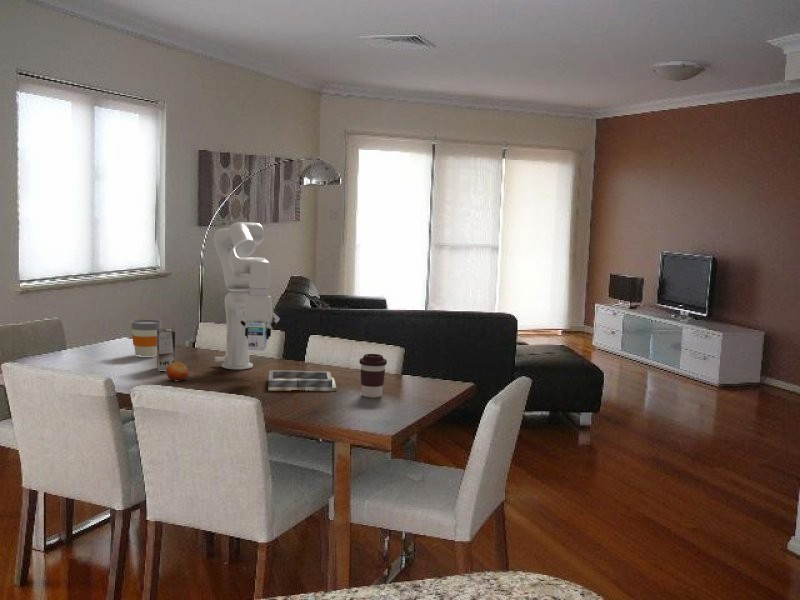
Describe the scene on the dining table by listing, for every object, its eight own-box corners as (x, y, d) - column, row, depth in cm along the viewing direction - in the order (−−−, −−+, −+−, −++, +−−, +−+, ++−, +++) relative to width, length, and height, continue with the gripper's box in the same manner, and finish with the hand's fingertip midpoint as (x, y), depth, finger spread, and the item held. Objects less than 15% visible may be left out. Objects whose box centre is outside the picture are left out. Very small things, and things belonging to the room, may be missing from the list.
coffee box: (175, 371, 322) (175, 331, 320) (158, 372, 319) (158, 331, 318) (172, 366, 330) (173, 328, 328) (156, 367, 328) (156, 328, 326)
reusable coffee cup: (126, 357, 345) (127, 323, 343) (137, 352, 357) (137, 319, 355) (155, 359, 344) (156, 324, 343) (165, 354, 357) (165, 320, 355)
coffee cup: (361, 399, 289) (363, 358, 287) (355, 392, 298) (356, 352, 297) (388, 398, 292) (390, 357, 290) (381, 392, 301) (382, 352, 299)
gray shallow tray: (268, 390, 296) (268, 380, 296) (269, 379, 314) (269, 370, 314) (336, 390, 300) (336, 381, 300) (333, 380, 318) (333, 371, 317)
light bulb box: (264, 351, 305) (265, 323, 303) (246, 350, 304) (247, 322, 303) (268, 345, 315) (268, 318, 314) (250, 344, 315) (251, 317, 313)
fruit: (174, 372, 312) (181, 356, 310) (186, 385, 310) (194, 369, 307) (157, 376, 306) (165, 359, 303) (170, 389, 303) (178, 373, 300)
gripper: (235, 292, 302) (234, 339, 304) (282, 294, 304) (280, 340, 307) (236, 290, 309) (235, 335, 312) (282, 291, 312) (280, 337, 314)
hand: (257, 337), depth 309 cm, fingers closed on light bulb box, 7 cm apart
